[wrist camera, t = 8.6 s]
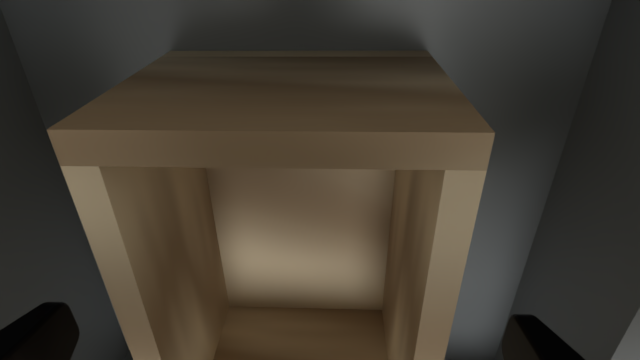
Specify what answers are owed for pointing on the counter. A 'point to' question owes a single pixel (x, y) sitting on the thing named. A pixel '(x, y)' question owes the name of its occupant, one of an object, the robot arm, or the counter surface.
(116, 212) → the birch crate
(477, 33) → the charcoal crate
